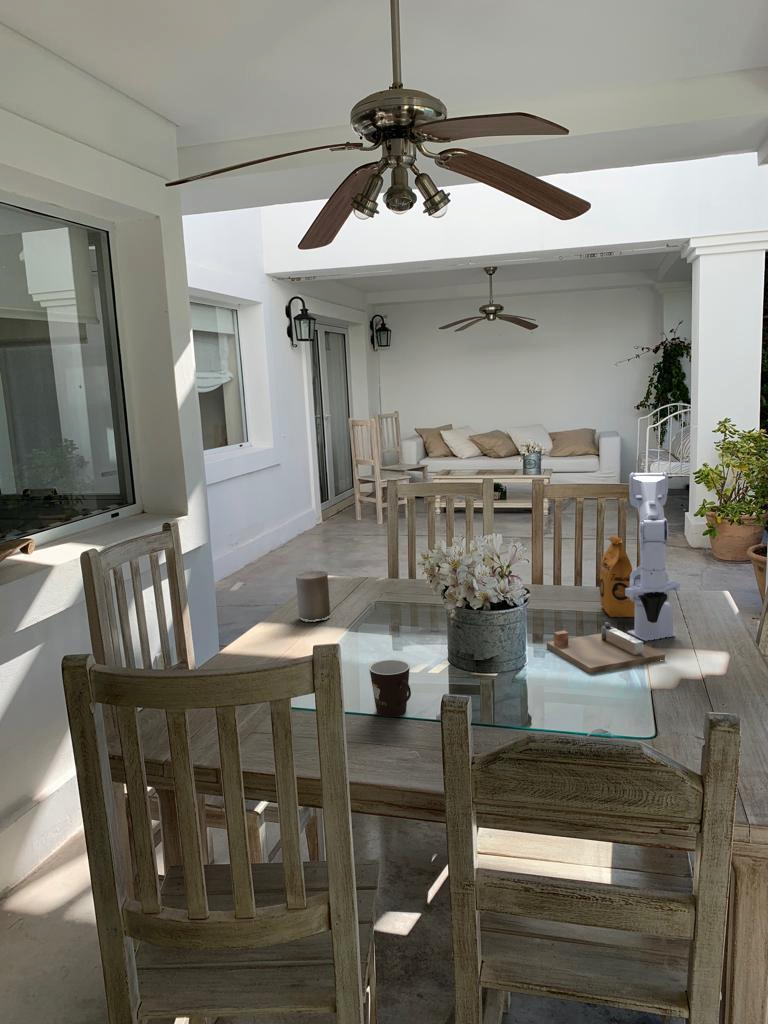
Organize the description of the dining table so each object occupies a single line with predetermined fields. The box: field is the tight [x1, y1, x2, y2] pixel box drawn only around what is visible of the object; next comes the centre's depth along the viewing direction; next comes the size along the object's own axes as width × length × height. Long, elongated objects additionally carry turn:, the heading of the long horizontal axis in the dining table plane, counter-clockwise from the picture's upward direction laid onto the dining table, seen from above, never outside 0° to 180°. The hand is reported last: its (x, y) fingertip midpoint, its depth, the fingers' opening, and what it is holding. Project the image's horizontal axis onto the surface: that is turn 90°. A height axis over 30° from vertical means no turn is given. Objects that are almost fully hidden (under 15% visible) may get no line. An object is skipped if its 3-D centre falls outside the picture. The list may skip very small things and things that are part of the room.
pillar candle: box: [295, 570, 331, 620], centre depth 237 cm, size 10×10×15 cm
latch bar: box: [600, 621, 644, 655], centre depth 198 cm, size 15×3×4 cm, turn 18°
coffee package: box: [598, 534, 635, 618], centre depth 229 cm, size 10×12×22 cm
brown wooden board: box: [546, 630, 666, 675], centre depth 197 cm, size 21×20×4 cm
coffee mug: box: [368, 659, 412, 719], centre depth 167 cm, size 12×9×10 cm
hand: (652, 621), depth 195 cm, fingers closed
